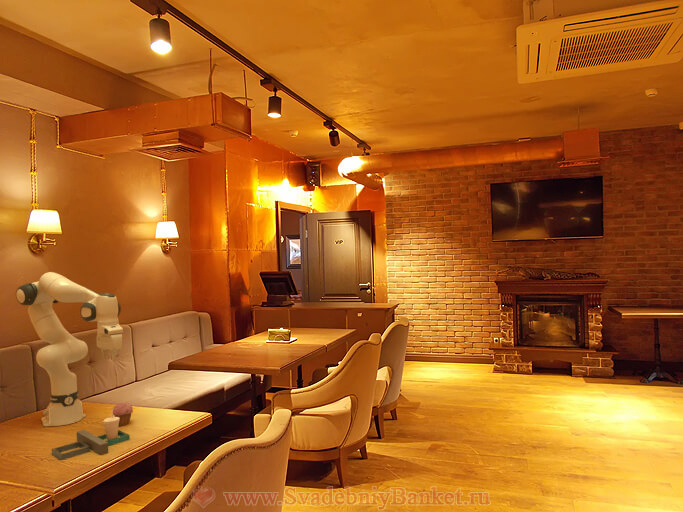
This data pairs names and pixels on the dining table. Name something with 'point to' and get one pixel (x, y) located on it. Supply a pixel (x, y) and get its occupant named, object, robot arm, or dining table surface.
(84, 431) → the door edge
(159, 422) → the dining table surface
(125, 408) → the cupcake
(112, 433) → the smoothie
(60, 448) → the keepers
